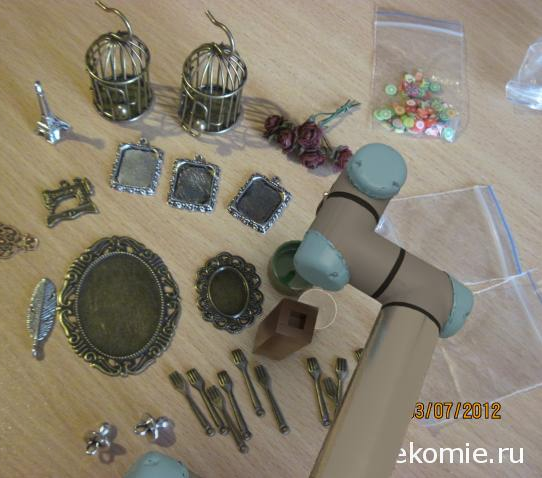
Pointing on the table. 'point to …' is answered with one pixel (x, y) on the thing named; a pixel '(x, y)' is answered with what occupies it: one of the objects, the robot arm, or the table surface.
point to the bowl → (287, 270)
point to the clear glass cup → (320, 307)
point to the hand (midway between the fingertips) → (308, 254)
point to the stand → (285, 329)
